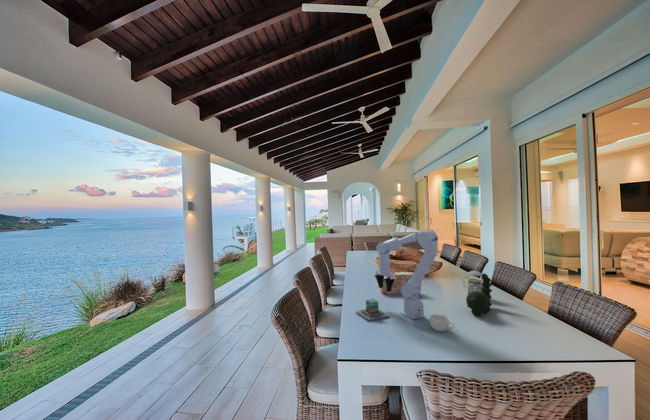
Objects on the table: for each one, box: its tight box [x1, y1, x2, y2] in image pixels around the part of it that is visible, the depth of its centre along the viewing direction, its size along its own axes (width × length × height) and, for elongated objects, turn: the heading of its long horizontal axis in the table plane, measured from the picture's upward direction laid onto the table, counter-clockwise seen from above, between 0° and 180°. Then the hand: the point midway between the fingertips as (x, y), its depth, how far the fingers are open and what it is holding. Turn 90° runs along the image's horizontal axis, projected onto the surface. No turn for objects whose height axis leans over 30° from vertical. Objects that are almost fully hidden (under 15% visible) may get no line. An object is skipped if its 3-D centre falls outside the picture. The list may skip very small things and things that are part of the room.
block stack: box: [365, 298, 379, 315], centre depth 141 cm, size 4×4×6 cm
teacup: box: [429, 313, 455, 333], centre depth 122 cm, size 10×8×5 cm
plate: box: [355, 308, 390, 322], centre depth 141 cm, size 12×12×2 cm
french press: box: [462, 254, 483, 297], centre depth 165 cm, size 10×12×25 cm
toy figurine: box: [465, 273, 493, 317], centre depth 142 cm, size 10×19×26 cm
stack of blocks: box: [379, 271, 414, 295], centre depth 178 cm, size 21×6×12 cm, turn 88°
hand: (384, 289), depth 151 cm, fingers open, 7 cm apart
